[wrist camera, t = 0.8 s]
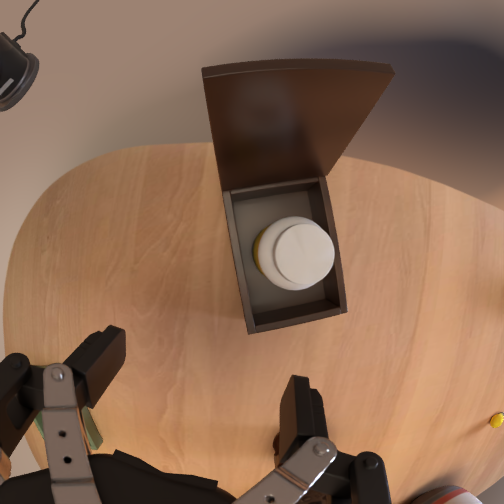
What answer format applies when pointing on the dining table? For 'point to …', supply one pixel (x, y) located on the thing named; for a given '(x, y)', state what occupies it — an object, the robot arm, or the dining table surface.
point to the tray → (90, 427)
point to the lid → (287, 115)
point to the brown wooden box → (256, 284)
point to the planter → (447, 496)
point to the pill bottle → (293, 253)
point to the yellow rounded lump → (497, 420)
